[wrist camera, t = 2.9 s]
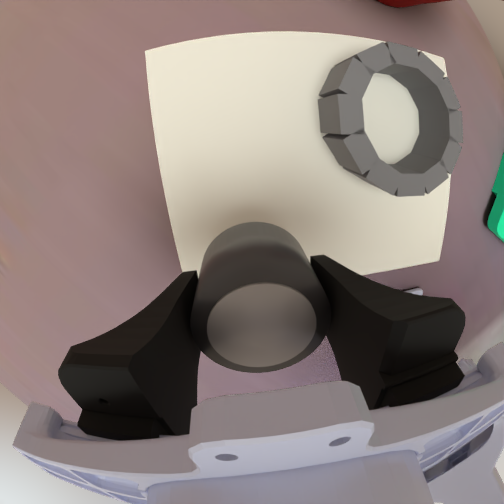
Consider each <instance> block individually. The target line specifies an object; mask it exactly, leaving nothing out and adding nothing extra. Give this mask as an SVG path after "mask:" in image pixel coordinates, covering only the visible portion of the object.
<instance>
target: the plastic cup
mask: <svg viewBox="0 0 504 504" xmlns="http://www.w3.org/2000/svg"><path fill="white" fill-rule="evenodd" d="M377 1H379V2H381V3H383V4H385V5H388V6H393V7H397V8H398V7H408V6H414V5H418V4H423V3H424V4H426V3H435V2H442V1H450V0H377Z"/></svg>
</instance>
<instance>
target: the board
mask: <svg viewBox="0 0 504 504" xmlns="http://www.w3.org/2000/svg"><path fill="white" fill-rule="evenodd" d="M145 55H146V67H147V78H148V88H149V97H150V106H151V114H152V121H153V128H154V135H155V142H156V148H157V154H158V160H159V166H160V172H161V177H162V183H163V188H164V193H165V198H166V203H167V208H168V213H169V217H170V222H171V227H172V231H173V235H174V240H175V244H176V248H177V252H178V256H179V260H180V264H181V268H182V272H185V271H194V270H197V274H198V278H199V274H200V269H201V265H202V260H203V257H204V254H205V252H206V250H207V248H208V246H209V245H210V243H211V242H212V241H213V240H214V239H215V238H216V237H217V236H218V235H219V234H220V233H222V232H223V231H225V230H226V229H228V228H230V227H232V226H235V225H238V224H241V223H247V222H265V223H270V224H273V225H276V226H279V227H281V228H283V229H285V230H286V231H288V232H289V233H290V234H291V235H292V236H294V237H295V239H296V240H297V241H298V242H299V244H300V245H301V247H302V249H303V251H304V253H305V254H306V256H307V258H308V260H309V262H310V256H316V255H326V256H328V257H329V258H331V259H333V260H335V261H336V262H338V263H340V264H341V265H343V266H345V267H347V268H348V269H350V270H352V271H354V272H356V273H358V274H359V275H366V274H372V273H378V272H383V271H389V270H394V269H400V268H405V267H410V266H415V265H420V264H425V263H430V262H435V261H439V258H440V253H441V248H442V243H443V237H444V231H445V225H446V218H447V210H448V201H449V191H450V177H451V173H452V171H453V169H454V166H455V164H456V162H457V159H458V157H459V154H460V152H461V149H462V147H461V146H460V145H459V143H463V125H462V111H458V110H457V109H459V108H460V107H461V106H460V104H459V101H458V99H457V97H456V94H455V92H454V90H453V88H452V85H451V83H450V81H449V79H448V77H447V73H446V67H445V61H444V58H442V57H439V56H436V55H433V54H430V53H427V52H423V51H420V50H417V49H416V48H412V47H408V46H405V45H401V44H396V43H392V42H384V41H379V40H373V39H368V38H362V37H355V36H348V35H339V34H329V33H316V32H254V33H240V34H230V35H222V36H214V37H207V38H201V39H195V40H190V41H185V42H180V43H175V44H171V45H166V46H162V47H158V48H154V49H151V50H147V51H145Z"/></svg>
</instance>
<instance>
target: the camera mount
mask: <svg viewBox="0 0 504 504" xmlns="http://www.w3.org/2000/svg"><path fill="white" fill-rule="evenodd" d="M492 192H493V193H494V194H495V195H496V196H497V197H496V199H495V202H494V205H493V207H492V210H491V213H490V215H489V218H488V228H489V229H490V230H491V231H492V232H493V233H494V234H495V235H496V236H497V237H498V238H500V239H501V240H502V241H503V242H504V153H503V156H502V160H501V163H500V167H499V170H498V173H497V177H496V180H495V183H494V186H493V189H492Z"/></svg>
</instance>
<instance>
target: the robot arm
mask: <svg viewBox="0 0 504 504" xmlns="http://www.w3.org/2000/svg"><path fill="white" fill-rule="evenodd" d="M310 264H311V266H312V268H313V270H314V272H315V274H316V276H317V277H318V279H319V281H320V283H321V285H322V287H323V289H324V291H325V293H326V295H327V297H328V300H329V303H330V307H331V321H330V326H329V329H328V332H327V334H326V336H327V338H328V340H329V343H330V345H331V347H332V350H333V352H334V355H335V358H336V362H337V365H338V368H339V372H340V375H341V379H342V381H330V382H321V383H316V384H311V385H306V386H300V387H294V388H287V389H280V390H273V391H265V392H256V393H247V394H235V395H224V396H220V397H215V398H210V399H206V400H204V401H202V402H201V403H199V404H198V405H197V376H198V364H199V358H200V352H201V350H200V348H199V347H198V346H197V344H196V342H195V340H194V338H193V336H192V332H191V327H190V318H191V311H192V307H193V302H194V297H195V292H196V287H197V283H198V274H197V270H194V271H185V272H183V273H181V274H180V275H179V276H178V277H177V278H176V279H175V280H174V281H173V282H172V283H171V284H170V285H169V286H168V287H167V288H166V289H165V290H164V291H163V292H162V293H161V294H160V295H159V296H158V297H157V298H156V299H155V300H153V301H152V302H151V303H150V304H149V305H148V306H147V307H145V308H144V309H143V310H142V311H140V312H139V313H138V314H136V315H135V316H133V317H132V318H130V319H129V320H127V321H126V322H124V323H122V324H121V325H119V326H117V327H116V328H114V329H112V330H110V331H108V332H106V333H104V334H102V335H100V336H98V337H95V338H93V339H91V340H88V341H85V342H82V343H80V344H77V345H74V346H71V348H70V350H69V351H68V353H67V355H66V357H65V359H64V361H63V362H62V364H61V366H60V368H59V370H58V376H59V379H60V381H61V384H62V385H63V387H64V388H65V390H66V391H67V392H68V393H69V394H70V396H71V397H72V398H73V399H74V400H75V401H76V403H77V404H78V405H79V406H80V407H81V408H82V409H83V410H82V412H81V415H80V418H79V421H78V423H76V422H72V421H68V420H64V419H63V418H62V417H61V416H60V415H59V413H58V412H56V411H55V410H54V409H53V408H51V407H49V406H46V405H43V404H39V403H36V402H31V403H30V405H29V407H28V410H27V412H26V414H25V416H24V418H23V421H22V423H21V425H20V428H19V430H18V432H17V435H16V437H15V440H14V443H13V448H14V449H16V450H17V451H18V452H19V453H21V454H22V455H23V456H25V457H26V458H27V459H29V460H30V461H31V462H33V463H34V464H36V465H37V466H38V467H40V468H41V469H43V470H44V471H46V472H47V473H49V474H50V475H52V476H54V477H56V478H59V479H61V480H64V481H66V482H68V483H71V484H73V485H76V486H79V487H81V488H84V489H87V490H89V491H92V492H95V493H98V494H101V495H104V496H107V497H110V498H113V499H116V500H120V501H124V502H127V503H131V504H434V502H440V503H443V504H504V484H503V482H502V479H501V477H500V475H499V474H498V472H497V469H496V468H495V464H496V462H497V460H498V458H499V456H500V454H501V452H502V450H503V448H504V343H503V342H500V343H499V344H497V345H495V346H494V347H492V348H490V349H488V350H487V351H486V352H485V353H484V354H483V355H482V356H481V358H480V360H479V361H478V363H477V365H476V364H475V363H474V361H473V360H472V359H466V360H465V359H464V358H463V359H461V360H460V362H459V363H458V364H459V366H460V367H459V366H458V365H457V363H456V361H457V360H458V356H457V354H456V353H455V352H454V350H455V347H456V345H457V343H458V341H459V339H460V337H461V334H462V332H463V329H464V326H465V314H464V312H463V311H462V310H461V308H460V307H459V306H458V305H457V304H456V303H455V302H454V301H453V300H452V299H451V298H439V297H429V296H423V295H422V294H423V291H422V289H421V288H416V289H412V290H407V291H400V290H397V289H393V288H390V287H387V286H385V285H382V284H379V283H377V282H374V281H372V280H370V279H368V278H366V277H364V276H361V275H359V274H358V273H356V272H354V271H352V270H350V269H348V268H347V267H345V266H343V265H341V264H340V263H338V262H336V261H335V260H333V259H331V258H329V257H328V256H326V255H316V256H310ZM461 369H462V370H461ZM463 372H464V373H463Z"/></svg>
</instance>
